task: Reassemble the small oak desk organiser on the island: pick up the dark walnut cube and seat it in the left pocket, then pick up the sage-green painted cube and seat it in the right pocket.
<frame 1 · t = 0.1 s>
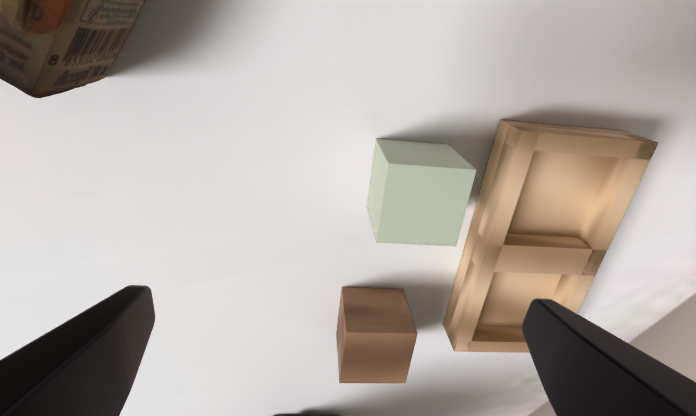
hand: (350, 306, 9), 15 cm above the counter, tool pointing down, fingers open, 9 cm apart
walnut cube: (368, 311, 28), on the counter
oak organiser: (522, 238, 26), on the counter
sage cube: (406, 176, 23), on the counter
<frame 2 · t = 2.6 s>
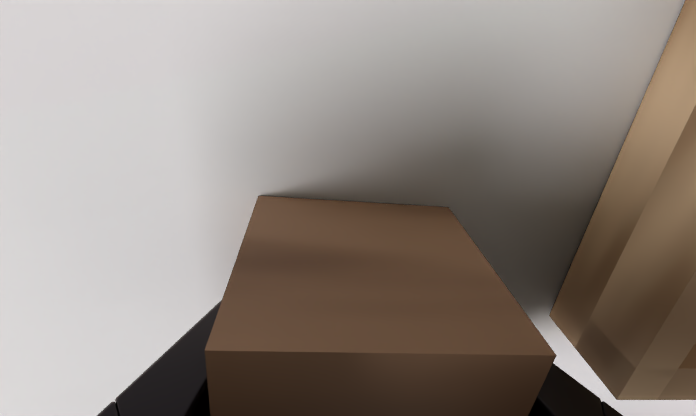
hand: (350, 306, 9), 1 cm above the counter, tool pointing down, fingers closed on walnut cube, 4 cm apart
walnut cube: (346, 279, 10), on the counter, touching gripper
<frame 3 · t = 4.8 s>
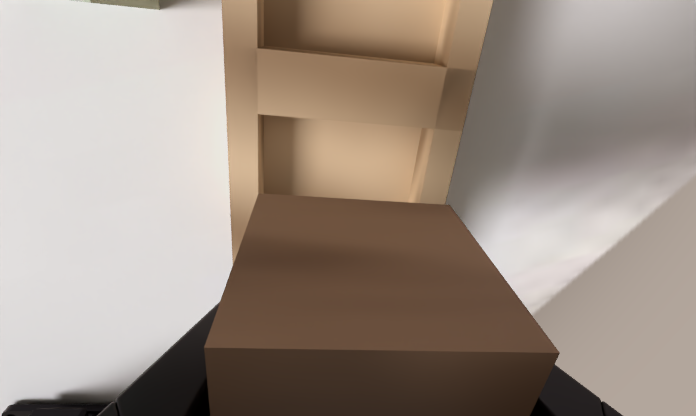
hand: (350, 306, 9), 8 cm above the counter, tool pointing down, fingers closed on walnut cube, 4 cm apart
walnut cube: (347, 277, 10), point 7 cm above the counter, touching gripper
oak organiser: (345, 80, 14), on the counter
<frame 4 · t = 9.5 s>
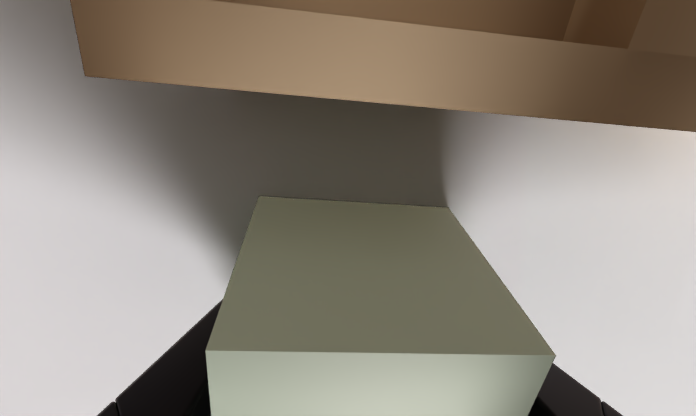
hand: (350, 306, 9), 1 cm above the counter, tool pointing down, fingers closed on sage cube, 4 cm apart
sage cube: (346, 279, 10), on the counter, touching gripper
when the fingers open (4 cm above the counter, at t = 12.9 s): sage cube drops 2 cm, resting on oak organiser.
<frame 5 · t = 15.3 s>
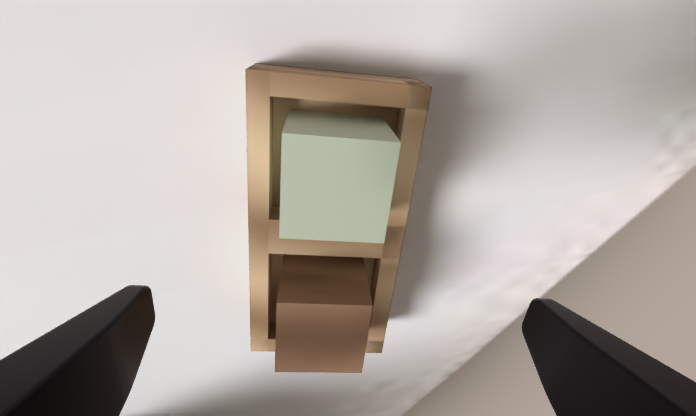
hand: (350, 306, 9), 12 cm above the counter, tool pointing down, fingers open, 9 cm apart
walnut cube: (321, 283, 22), point 1 cm above the counter, touching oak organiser
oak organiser: (326, 216, 22), on the counter
sage cube: (332, 157, 19), point 1 cm above the counter, touching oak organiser
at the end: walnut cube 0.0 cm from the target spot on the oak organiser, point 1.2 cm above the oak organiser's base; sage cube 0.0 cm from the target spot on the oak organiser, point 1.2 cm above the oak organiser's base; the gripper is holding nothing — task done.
